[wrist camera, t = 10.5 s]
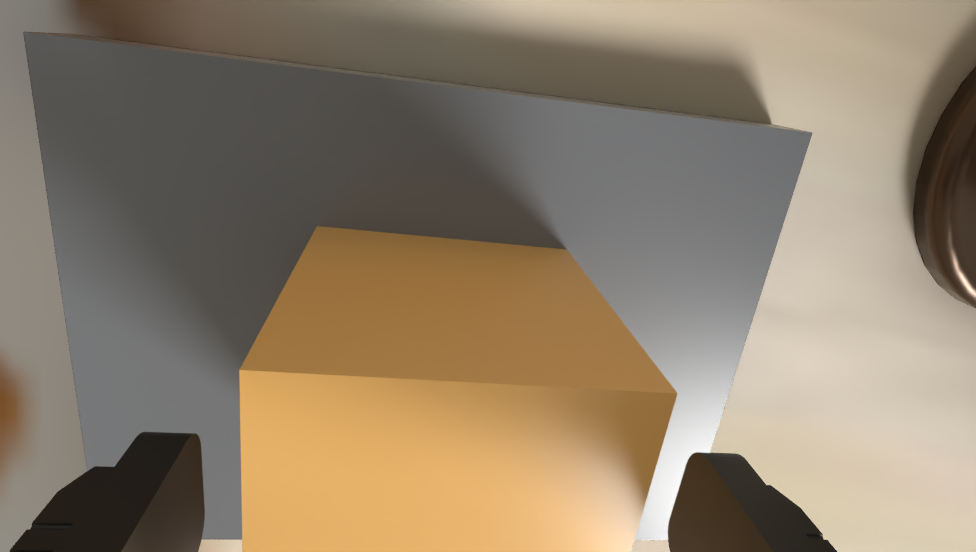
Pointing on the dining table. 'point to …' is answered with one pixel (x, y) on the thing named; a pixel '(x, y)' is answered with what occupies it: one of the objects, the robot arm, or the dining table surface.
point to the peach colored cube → (445, 403)
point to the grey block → (373, 223)
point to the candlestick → (950, 197)
